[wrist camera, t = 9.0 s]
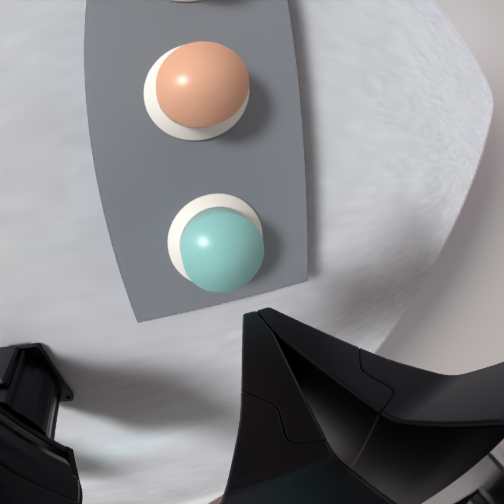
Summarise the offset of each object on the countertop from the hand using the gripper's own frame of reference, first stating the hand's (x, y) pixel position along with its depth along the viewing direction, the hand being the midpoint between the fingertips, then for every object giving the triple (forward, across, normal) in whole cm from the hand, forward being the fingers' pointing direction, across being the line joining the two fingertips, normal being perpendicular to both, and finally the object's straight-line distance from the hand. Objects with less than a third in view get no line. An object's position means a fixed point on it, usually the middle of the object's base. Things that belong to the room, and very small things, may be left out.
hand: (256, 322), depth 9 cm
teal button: (+7, 0, 0) cm, 7 cm away
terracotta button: (+7, 0, -8) cm, 11 cm away
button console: (+10, 0, -8) cm, 13 cm away
